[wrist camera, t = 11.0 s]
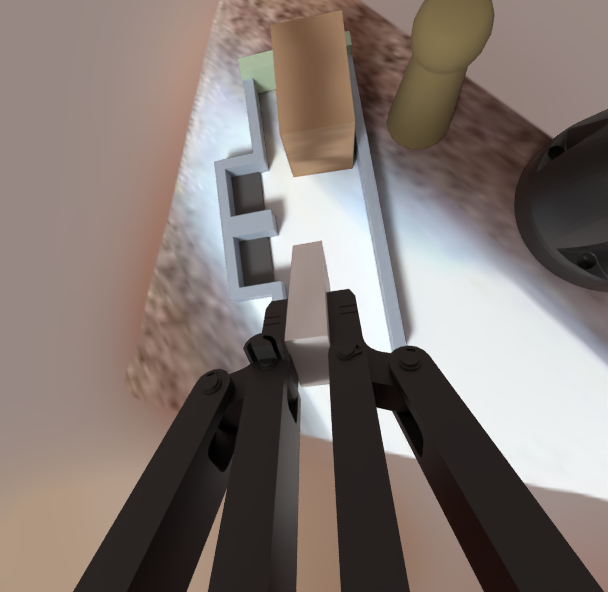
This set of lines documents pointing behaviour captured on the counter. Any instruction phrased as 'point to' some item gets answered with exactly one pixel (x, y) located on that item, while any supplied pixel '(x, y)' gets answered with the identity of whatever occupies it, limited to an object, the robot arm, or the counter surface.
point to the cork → (437, 68)
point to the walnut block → (314, 93)
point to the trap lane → (262, 223)
